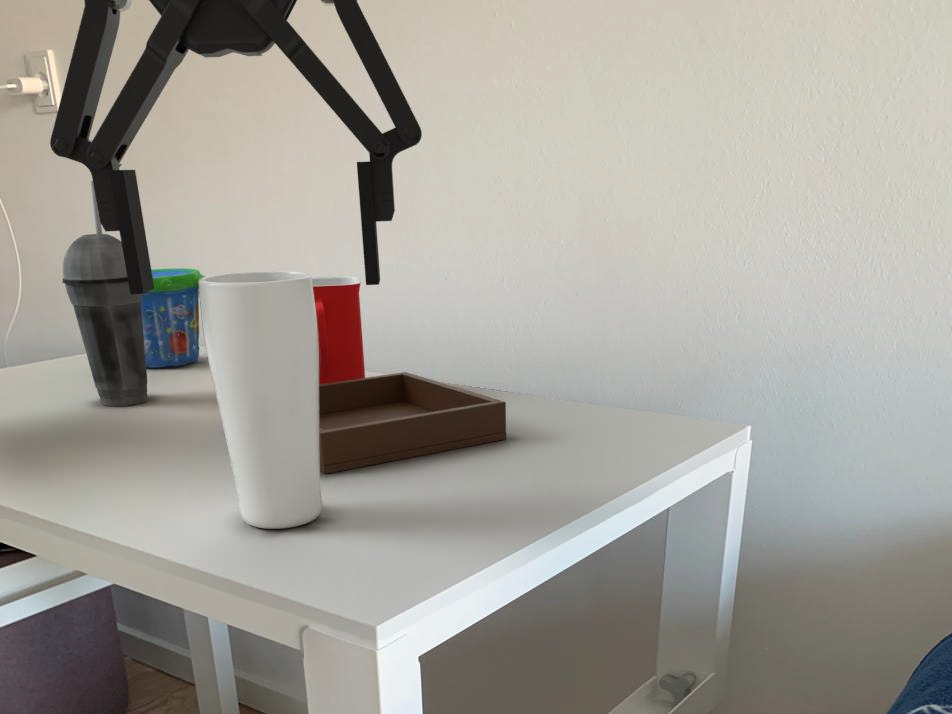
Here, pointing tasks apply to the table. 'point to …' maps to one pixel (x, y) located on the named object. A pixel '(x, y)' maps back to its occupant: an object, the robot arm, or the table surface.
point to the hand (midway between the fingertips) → (258, 287)
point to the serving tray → (401, 420)
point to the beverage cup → (107, 316)
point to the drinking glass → (267, 390)
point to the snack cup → (171, 318)
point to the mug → (339, 328)
